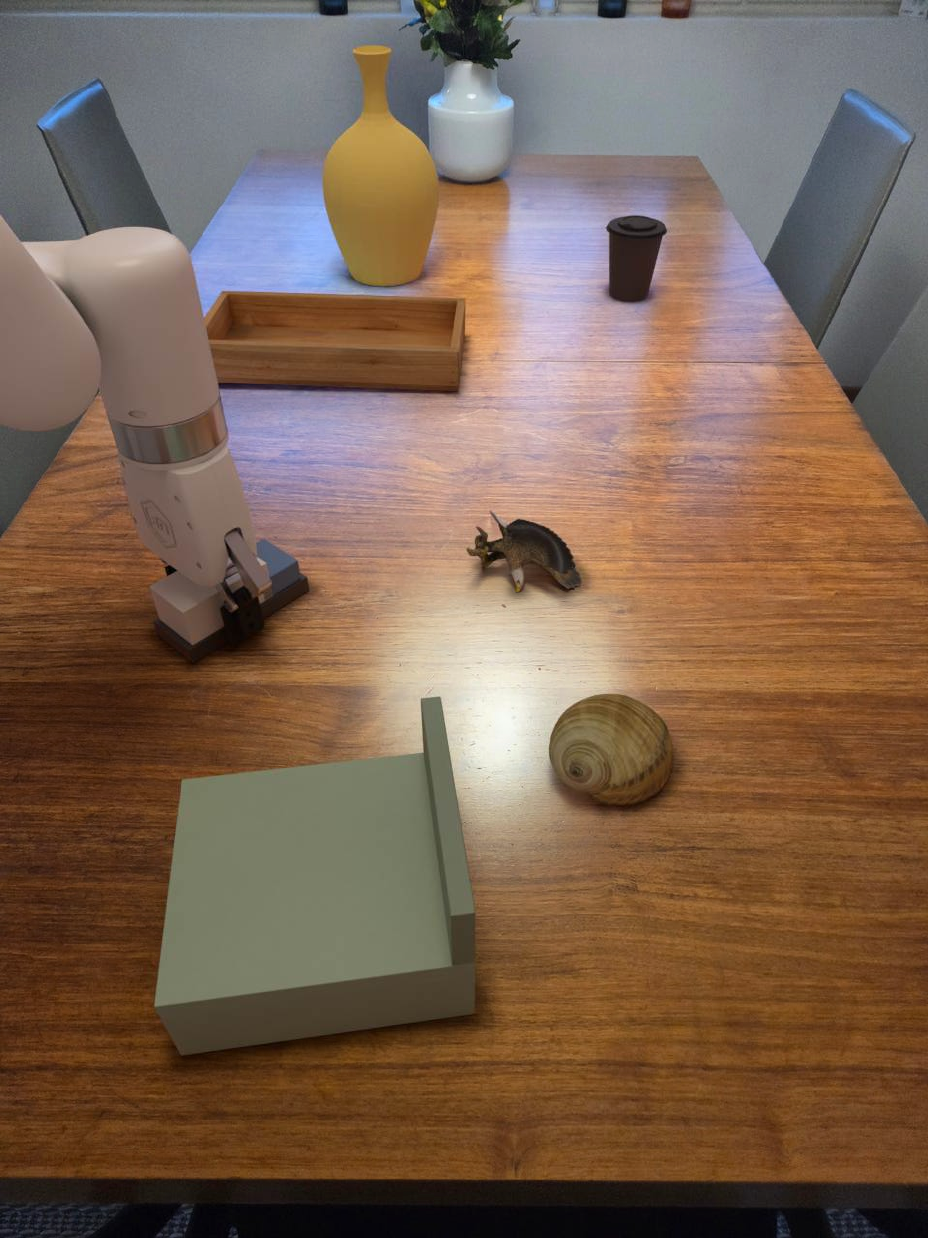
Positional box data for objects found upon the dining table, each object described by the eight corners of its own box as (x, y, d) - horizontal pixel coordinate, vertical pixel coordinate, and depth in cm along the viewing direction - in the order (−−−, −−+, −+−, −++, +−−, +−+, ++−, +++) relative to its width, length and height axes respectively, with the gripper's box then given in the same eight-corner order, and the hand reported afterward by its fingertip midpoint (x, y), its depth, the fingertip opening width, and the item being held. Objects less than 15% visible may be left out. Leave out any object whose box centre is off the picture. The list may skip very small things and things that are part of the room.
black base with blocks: (193, 664, 69) (178, 617, 66) (157, 635, 71) (141, 588, 68) (309, 590, 76) (302, 544, 72) (272, 566, 78) (264, 520, 75)
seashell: (622, 763, 67) (574, 674, 65) (705, 747, 62) (656, 651, 61) (570, 843, 59) (515, 745, 58) (661, 831, 55) (603, 724, 53)
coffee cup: (597, 303, 120) (605, 228, 113) (601, 281, 126) (608, 207, 119) (657, 307, 119) (668, 231, 112) (658, 285, 125) (668, 211, 118)
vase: (312, 286, 125) (284, 57, 106) (357, 247, 136) (339, 34, 117) (418, 300, 121) (408, 65, 102) (455, 259, 132) (453, 40, 114)
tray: (465, 337, 112) (465, 293, 109) (459, 394, 101) (458, 348, 97) (229, 333, 114) (221, 289, 110) (197, 388, 102) (187, 342, 99)
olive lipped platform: (180, 1056, 47) (126, 958, 40) (202, 835, 57) (162, 725, 50) (474, 1014, 49) (475, 913, 41) (444, 806, 59) (440, 695, 51)
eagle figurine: (468, 598, 73) (575, 595, 71) (463, 512, 72) (572, 506, 70) (488, 587, 80) (587, 584, 78) (484, 509, 79) (583, 503, 77)
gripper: (55, 402, 63) (122, 592, 75) (198, 494, 54) (248, 692, 66) (146, 366, 67) (195, 552, 79) (292, 446, 58) (323, 641, 70)
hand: (219, 614), depth 72 cm, fingers open, 6 cm apart
